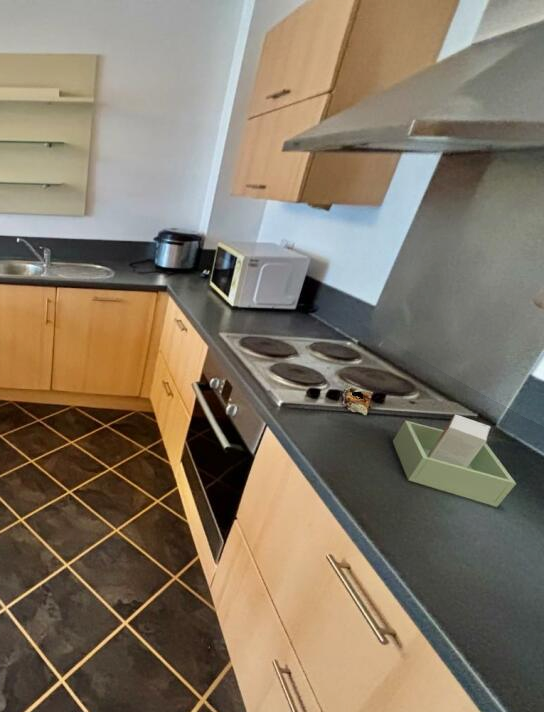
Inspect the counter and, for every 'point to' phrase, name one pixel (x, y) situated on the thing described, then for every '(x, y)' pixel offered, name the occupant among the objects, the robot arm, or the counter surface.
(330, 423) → the counter surface
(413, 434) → the sorting bin
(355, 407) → the pastry
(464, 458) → the small box
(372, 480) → the counter surface
